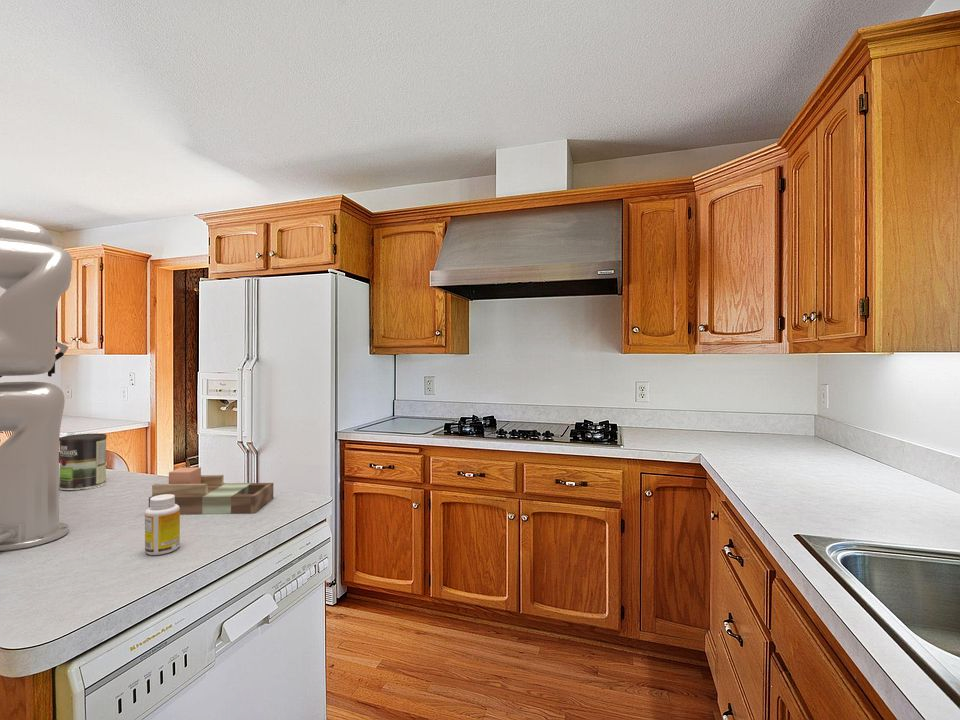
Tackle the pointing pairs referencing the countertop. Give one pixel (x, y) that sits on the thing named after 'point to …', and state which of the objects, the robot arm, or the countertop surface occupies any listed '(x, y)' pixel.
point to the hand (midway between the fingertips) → (25, 376)
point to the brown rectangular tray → (217, 496)
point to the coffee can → (82, 461)
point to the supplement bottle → (162, 525)
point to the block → (185, 476)
